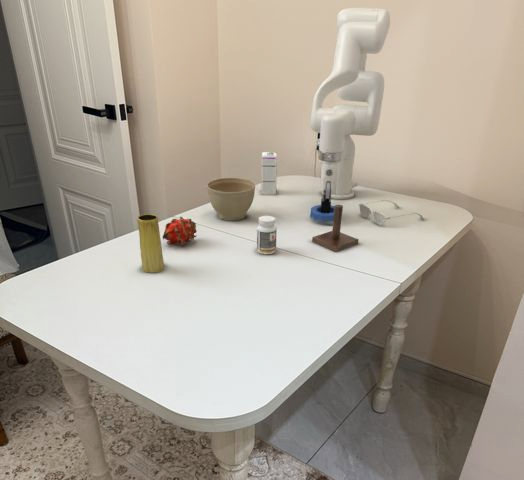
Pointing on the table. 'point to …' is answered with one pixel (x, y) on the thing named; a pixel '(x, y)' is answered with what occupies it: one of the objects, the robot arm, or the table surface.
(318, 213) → the blue ring
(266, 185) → the syrup box
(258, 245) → the pill bottle
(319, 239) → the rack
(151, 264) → the vase
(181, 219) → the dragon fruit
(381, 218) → the eyeglasses
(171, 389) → the table surface
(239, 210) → the planter bowl
